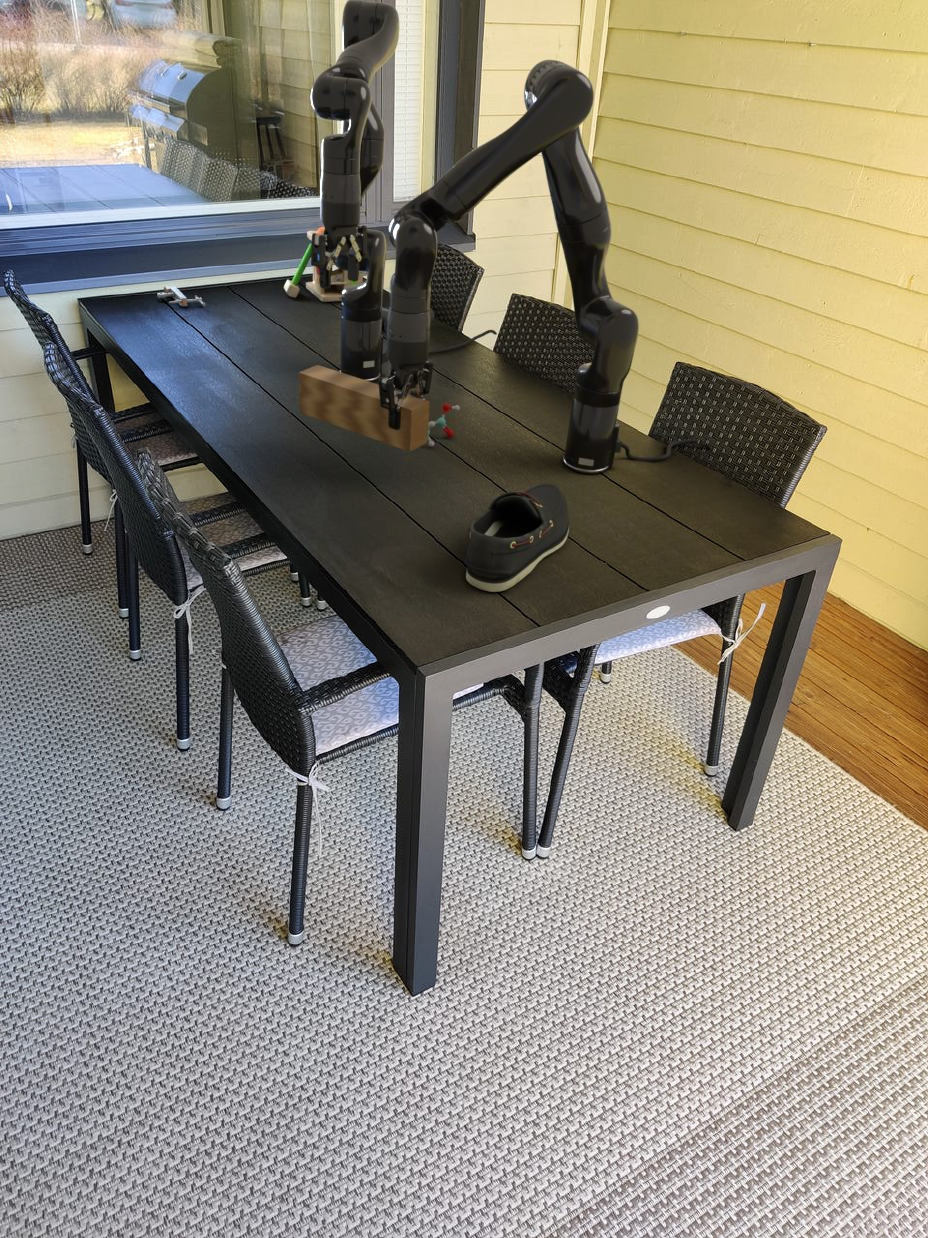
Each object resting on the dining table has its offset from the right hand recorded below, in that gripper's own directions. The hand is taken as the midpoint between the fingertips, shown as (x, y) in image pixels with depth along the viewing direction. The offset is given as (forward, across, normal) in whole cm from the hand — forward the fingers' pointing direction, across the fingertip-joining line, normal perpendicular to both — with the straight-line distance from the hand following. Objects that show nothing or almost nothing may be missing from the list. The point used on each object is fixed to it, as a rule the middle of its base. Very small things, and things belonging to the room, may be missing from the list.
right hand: (404, 422), depth 181 cm
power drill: (+12, +74, +58) cm, 95 cm away
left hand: (-17, +14, +27) cm, 35 cm away
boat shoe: (+12, -7, -30) cm, 33 cm away
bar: (+4, 0, +10) cm, 11 cm away
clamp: (+12, +46, +108) cm, 118 cm away
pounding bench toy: (+12, +81, +87) cm, 119 cm away
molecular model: (+12, +20, +8) cm, 25 cm away
